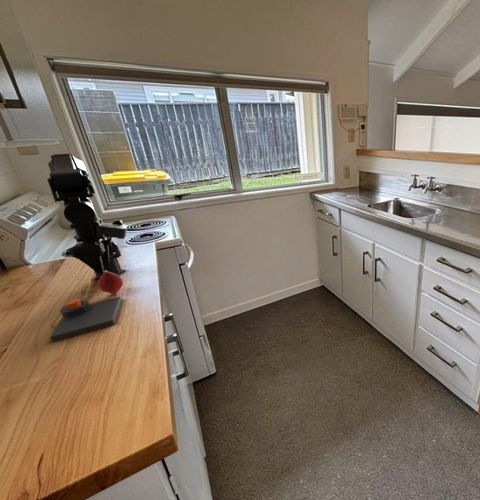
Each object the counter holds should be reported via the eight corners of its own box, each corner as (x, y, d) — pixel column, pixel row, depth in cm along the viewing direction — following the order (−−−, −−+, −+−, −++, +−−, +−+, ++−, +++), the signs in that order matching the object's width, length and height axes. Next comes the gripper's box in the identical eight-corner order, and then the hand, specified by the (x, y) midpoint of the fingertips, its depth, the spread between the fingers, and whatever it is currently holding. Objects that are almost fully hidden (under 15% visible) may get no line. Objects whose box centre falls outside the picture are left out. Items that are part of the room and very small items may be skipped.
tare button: (69, 306, 77) (67, 300, 77) (82, 303, 79) (80, 297, 78) (66, 311, 75) (63, 305, 74) (80, 307, 76) (77, 302, 76)
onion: (123, 287, 92) (114, 264, 89) (128, 292, 89) (119, 269, 86) (101, 294, 88) (91, 271, 85) (105, 300, 85) (95, 276, 82)
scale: (68, 313, 79) (63, 304, 78) (122, 300, 84) (119, 291, 83) (50, 342, 67) (44, 332, 66) (114, 324, 73) (110, 314, 72)
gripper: (114, 220, 76) (133, 272, 81) (123, 207, 91) (139, 252, 96) (58, 227, 70) (83, 282, 76) (78, 213, 86) (98, 260, 91)
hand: (104, 267), depth 85 cm, fingers open, 9 cm apart
